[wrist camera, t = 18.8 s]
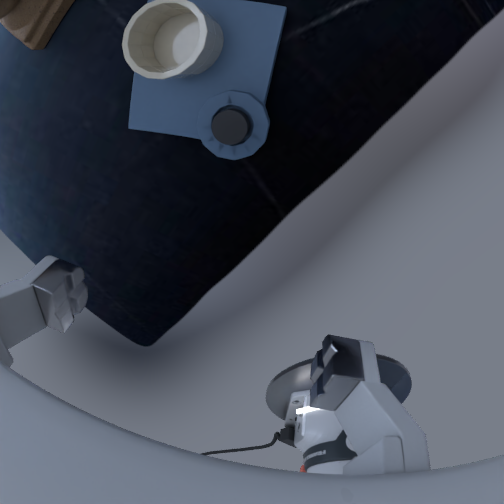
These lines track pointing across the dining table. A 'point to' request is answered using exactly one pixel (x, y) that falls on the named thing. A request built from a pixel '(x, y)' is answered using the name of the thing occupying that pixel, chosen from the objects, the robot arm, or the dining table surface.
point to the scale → (218, 81)
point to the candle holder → (33, 19)
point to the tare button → (230, 126)
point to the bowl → (172, 40)
